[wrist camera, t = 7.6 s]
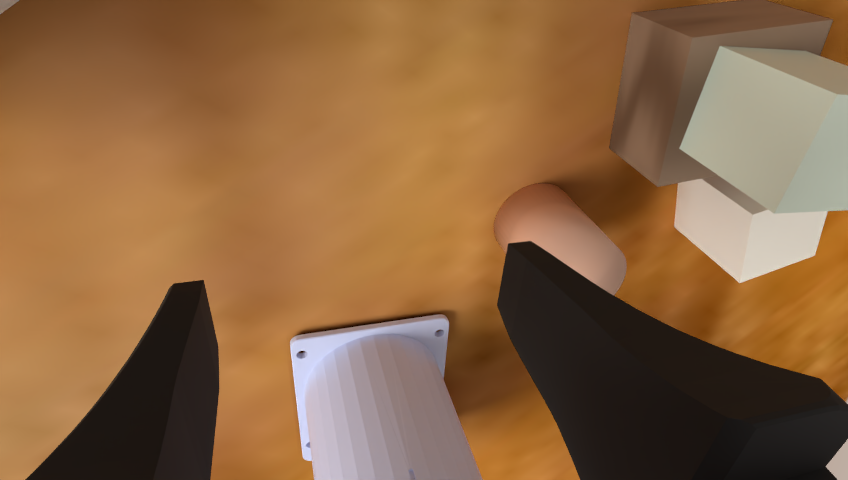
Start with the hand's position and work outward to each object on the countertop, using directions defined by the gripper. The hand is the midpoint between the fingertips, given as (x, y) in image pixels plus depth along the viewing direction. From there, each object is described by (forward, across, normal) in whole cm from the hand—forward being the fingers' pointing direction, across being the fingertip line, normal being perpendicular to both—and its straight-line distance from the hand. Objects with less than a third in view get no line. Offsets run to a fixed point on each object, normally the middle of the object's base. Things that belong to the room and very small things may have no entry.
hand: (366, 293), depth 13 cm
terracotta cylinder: (+10, -10, +6) cm, 16 cm away
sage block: (+7, -16, -1) cm, 17 cm away
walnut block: (+11, -16, -1) cm, 19 cm away
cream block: (+10, -20, +5) cm, 23 cm away
